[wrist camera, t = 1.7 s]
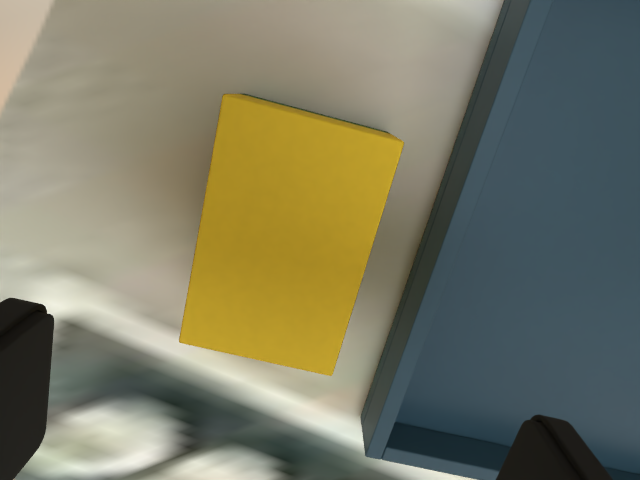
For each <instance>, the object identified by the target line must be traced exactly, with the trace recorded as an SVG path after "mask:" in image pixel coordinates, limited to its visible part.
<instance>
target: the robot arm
mask: <svg viewBox="0 0 640 480" xmlns="http://www.w3.org/2000/svg"><path fill="white" fill-rule="evenodd" d="M53 330H54V318H53V316H52V315H51V314H47V310H46V307H45V306H44V305H43V304H38V303H34V302H29V301H25V300H20V299H16V298H8V299H6V300H4V301H2V302H0V480H13V479H14V478H15V477H16V475H17V474H18V473H19V472H20V470H21V469H22V468H23V467H24V466H25V464H26V463H27V462H28V461H29V459H30V458H31V457H32V456H33V455H34V453H35V452H36V451H37V449H38V448H39V446H40V444H41V443H42V440H43V438H44V435H45V431H46V422H47V408H48V395H49V382H50V369H51V356H52V343H53ZM496 480H613V479H612V477H611V476H610V475H609V474H608V472H607V471H606V470H605V468H604V467H603V466H602V464H601V463H600V462H599V460H598V459H597V458H596V456H595V455H594V454H593V453H592V451H591V450H590V449H589V447H588V446H587V445H586V443H585V442H584V441H583V439H582V438H581V437H580V435H579V434H578V433H577V432H576V430H575V429H574V428H573V426H572V425H571V424H570V423H569V422H568V421H565V420H562V419H557V418H553V417H548V416H544V415H534V416H533V417H532V418H531V419H530V420H526V421H524V422H523V423H522V425H521V427H520V429H519V431H518V433H517V435H516V438H515V440H514V442H513V444H512V446H511V448H510V450H509V453H508V455H507V457H506V459H505V461H504V463H503V465H502V467H501V470H500V472H499V474H498V476H497V478H496Z"/></svg>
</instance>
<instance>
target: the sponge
mask: <svg viewBox="0 0 640 480" xmlns="http://www.w3.org/2000/svg"><path fill="white" fill-rule="evenodd" d="M403 145H404V142H403V141H402V140H400V139H398V138H397V137H395V136H393V135H391V134H390V133H388V132H386V131H382V130H378V129H374V128H371V127H367V126H363V125H359V124H356V123H352V122H348V121H344V120H340V119H337V118H333V117H329V116H325V115H322V114H318V113H314V112H310V111H307V110H303V109H299V108H295V107H292V106H288V105H284V104H280V103H277V102H273V101H269V100H265V99H262V98H258V97H254V96H250V95H246V94H224V95H223V97H222V102H221V108H220V113H219V119H218V125H217V130H216V136H215V142H214V147H213V153H212V158H211V164H210V170H209V175H208V181H207V187H206V192H205V198H204V203H203V209H202V215H201V220H200V226H199V232H198V237H197V243H196V248H195V254H194V260H193V265H192V271H191V277H190V282H189V288H188V293H187V299H186V305H185V310H184V316H183V321H182V327H181V333H180V338H179V342H180V343H183V344H188V345H193V346H197V347H202V348H206V349H211V350H215V351H220V352H224V353H229V354H233V355H238V356H243V357H247V358H252V359H256V360H261V361H265V362H270V363H274V364H279V365H283V366H288V367H292V368H297V369H302V370H306V371H311V372H315V373H320V374H324V375H329V376H332V374H333V371H334V368H335V365H336V361H337V358H338V355H339V352H340V349H341V345H342V342H343V339H344V336H345V332H346V329H347V326H348V323H349V320H350V316H351V313H352V310H353V307H354V303H355V300H356V297H357V294H358V291H359V287H360V284H361V281H362V278H363V274H364V271H365V268H366V265H367V262H368V258H369V255H370V252H371V249H372V245H373V242H374V239H375V236H376V232H377V229H378V226H379V223H380V220H381V216H382V213H383V210H384V207H385V203H386V200H387V197H388V194H389V191H390V187H391V184H392V181H393V178H394V174H395V171H396V168H397V165H398V162H399V158H400V155H401V152H402V149H403Z"/></svg>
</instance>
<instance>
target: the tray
mask: <svg viewBox="0 0 640 480" xmlns="http://www.w3.org/2000/svg"><path fill="white" fill-rule="evenodd" d="M534 415H544V416H548V417H553V418H557V419H562V420H565V421H568V422H569V423H570V424H571V425H572V426H573V428H574V429H575V430H576V432H577V433H578V434H579V435H580V437H581V438H582V439H583V441H584V442H585V443H586V445H587V446H588V447H589V449H590V450H591V451H592V453H593V454H594V455H595V456H596V458H597V459H598V460H599V462H600V463H601V464H602V466H603V467H604V468H605V470H606V471H607V472H608V474H609V475H610V476H611V477H612V479H613V480H640V0H504V3H503V6H502V9H501V12H500V15H499V18H498V21H497V24H496V27H495V29H494V32H493V35H492V38H491V41H490V44H489V47H488V50H487V53H486V55H485V58H484V61H483V64H482V67H481V70H480V73H479V76H478V79H477V82H476V84H475V87H474V90H473V93H472V96H471V99H470V102H469V105H468V108H467V110H466V113H465V116H464V119H463V122H462V125H461V128H460V131H459V134H458V136H457V139H456V142H455V145H454V148H453V151H452V154H451V157H450V160H449V163H448V165H447V168H446V171H445V174H444V177H443V180H442V183H441V186H440V189H439V191H438V194H437V197H436V200H435V203H434V206H433V209H432V212H431V215H430V218H429V220H428V223H427V226H426V229H425V232H424V235H423V238H422V241H421V244H420V246H419V249H418V252H417V255H416V258H415V261H414V264H413V267H412V270H411V272H410V275H409V278H408V281H407V284H406V287H405V290H404V293H403V296H402V299H401V301H400V304H399V307H398V310H397V313H396V316H395V319H394V322H393V325H392V327H391V330H390V333H389V336H388V339H387V342H386V345H385V348H384V351H383V354H382V356H381V359H380V362H379V365H378V368H377V371H376V374H375V377H374V380H373V382H372V385H371V388H370V391H369V394H368V397H367V400H366V403H365V406H364V408H363V411H362V414H361V424H362V432H363V440H364V448H365V456H366V457H370V458H375V459H382V460H386V461H390V462H395V463H400V464H405V465H410V466H415V467H419V468H424V469H429V470H434V471H439V472H444V473H448V474H453V475H458V476H463V477H468V478H472V479H477V480H496V478H497V476H498V474H499V472H500V470H501V467H502V465H503V463H504V461H505V459H506V457H507V455H508V453H509V450H510V448H511V446H512V444H513V442H514V440H515V438H516V435H517V433H518V431H519V429H520V427H521V425H522V423H523V422H524V421H526V420H530V419H531V418H532V417H533V416H534Z"/></svg>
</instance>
